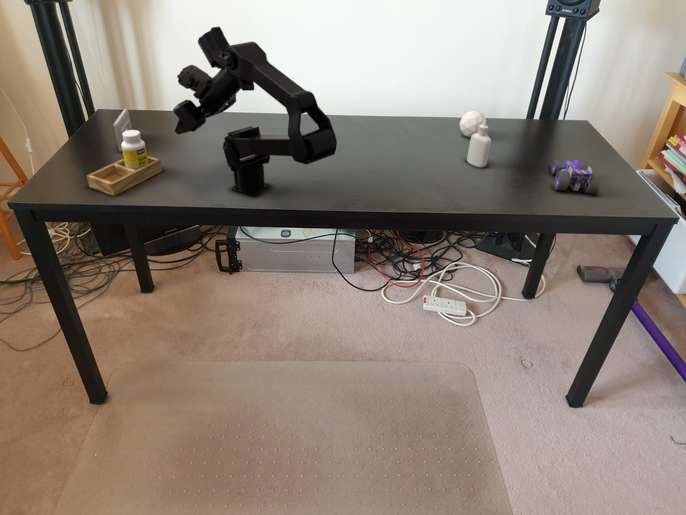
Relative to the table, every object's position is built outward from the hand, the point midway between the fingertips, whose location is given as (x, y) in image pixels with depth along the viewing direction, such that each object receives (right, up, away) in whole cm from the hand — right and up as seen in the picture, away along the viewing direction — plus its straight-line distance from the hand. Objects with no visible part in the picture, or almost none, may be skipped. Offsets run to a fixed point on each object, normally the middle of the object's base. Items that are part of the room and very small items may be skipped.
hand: (187, 125), depth 125 cm
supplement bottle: (-14, -10, +6) cm, 18 cm away
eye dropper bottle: (+73, -6, +19) cm, 76 cm away
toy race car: (+96, -12, +12) cm, 97 cm away
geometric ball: (+76, +5, +34) cm, 83 cm away
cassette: (-23, 0, +20) cm, 30 cm away
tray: (-16, -12, +3) cm, 20 cm away
